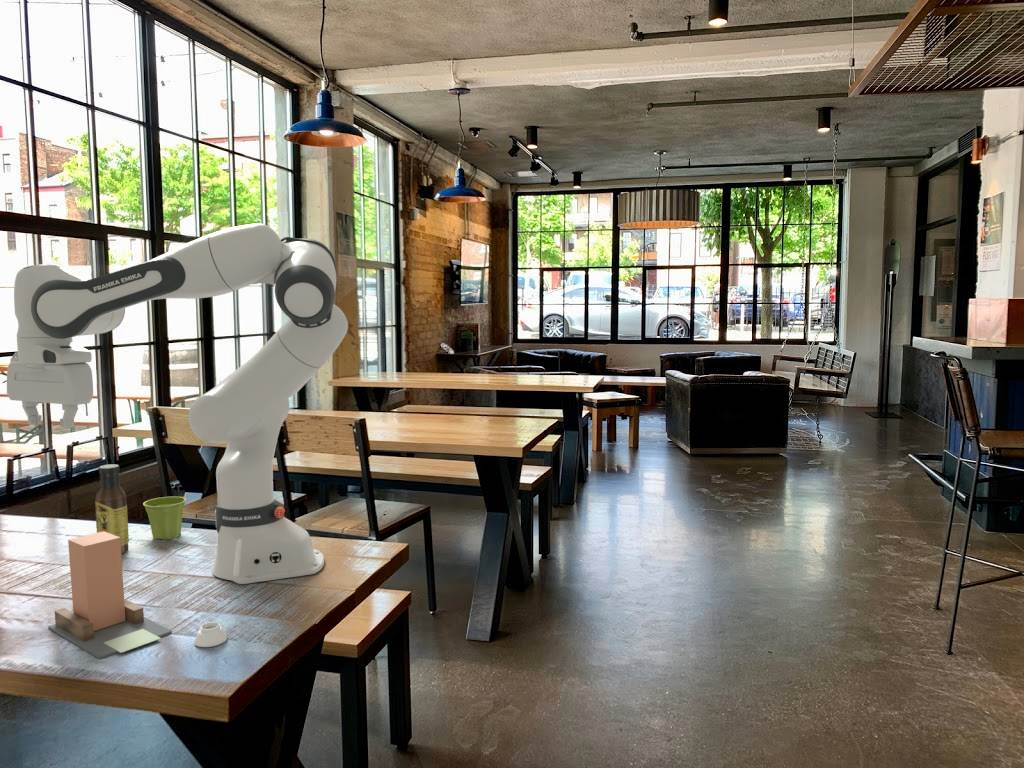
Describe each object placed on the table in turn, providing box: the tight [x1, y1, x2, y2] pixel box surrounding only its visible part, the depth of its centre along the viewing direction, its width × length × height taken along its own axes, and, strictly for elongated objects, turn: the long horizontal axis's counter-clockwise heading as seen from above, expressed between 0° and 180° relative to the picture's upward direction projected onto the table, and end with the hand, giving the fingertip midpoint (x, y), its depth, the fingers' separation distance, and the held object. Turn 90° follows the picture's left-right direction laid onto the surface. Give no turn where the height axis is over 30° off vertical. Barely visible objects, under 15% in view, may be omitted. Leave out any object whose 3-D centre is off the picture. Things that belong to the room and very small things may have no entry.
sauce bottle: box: [94, 463, 130, 555], centre depth 173 cm, size 6×6×20 cm
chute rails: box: [54, 598, 145, 642], centre depth 135 cm, size 11×10×2 cm
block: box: [67, 531, 126, 631], centre depth 134 cm, size 6×6×15 cm
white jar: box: [194, 621, 228, 648], centre depth 129 cm, size 5×3×5 cm
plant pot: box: [142, 496, 187, 541], centre depth 185 cm, size 9×9×9 cm
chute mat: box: [47, 616, 173, 660], centre depth 133 cm, size 20×12×1 cm, turn 52°
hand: (51, 426), depth 145 cm, fingers open, 8 cm apart
